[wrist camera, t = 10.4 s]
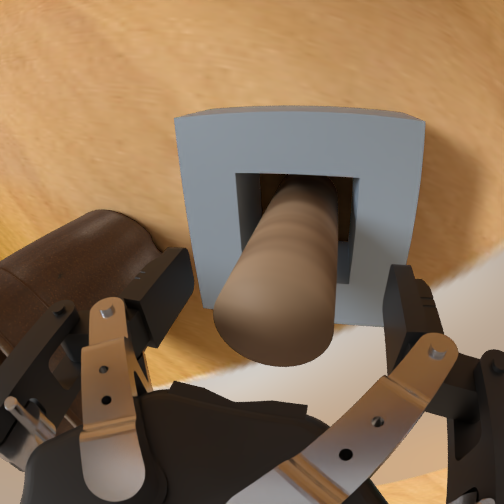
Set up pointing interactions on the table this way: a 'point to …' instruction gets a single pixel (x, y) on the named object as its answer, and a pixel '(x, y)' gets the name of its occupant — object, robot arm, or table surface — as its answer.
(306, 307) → the dowel
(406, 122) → the socket block
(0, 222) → the table surface
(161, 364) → the table surface
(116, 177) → the table surface
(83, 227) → the plant pot
